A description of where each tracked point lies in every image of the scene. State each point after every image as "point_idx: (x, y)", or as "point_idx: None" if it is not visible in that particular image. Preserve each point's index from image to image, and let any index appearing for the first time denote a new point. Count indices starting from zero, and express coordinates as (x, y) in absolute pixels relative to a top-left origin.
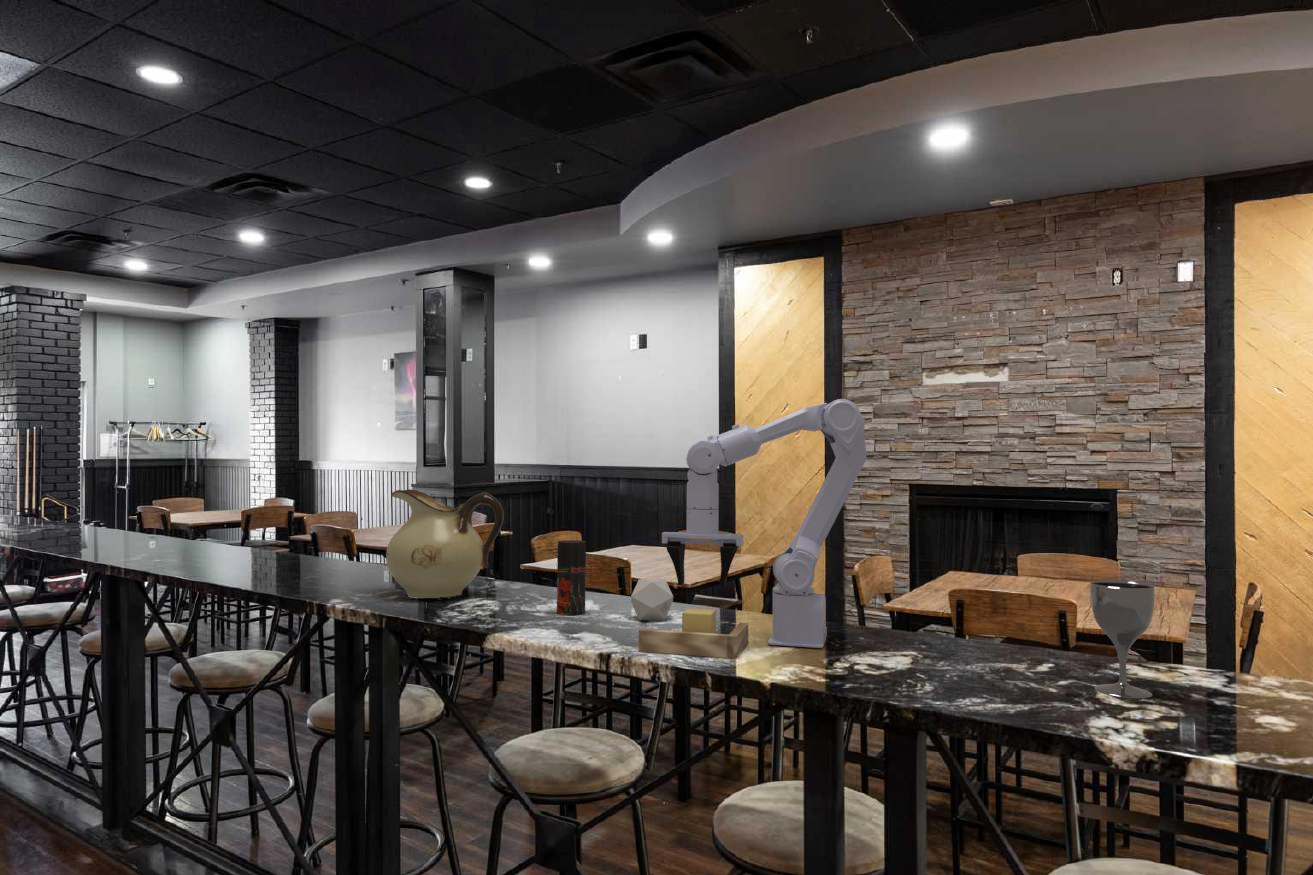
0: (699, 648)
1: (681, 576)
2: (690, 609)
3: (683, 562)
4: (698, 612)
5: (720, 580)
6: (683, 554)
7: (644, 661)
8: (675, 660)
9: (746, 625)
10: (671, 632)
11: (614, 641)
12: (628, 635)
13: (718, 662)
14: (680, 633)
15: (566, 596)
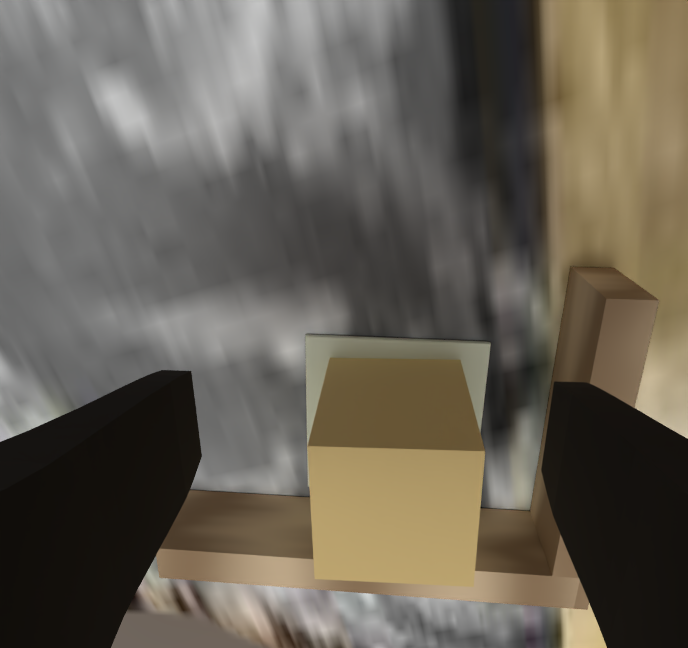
0: None
1: (173, 505)
2: (331, 479)
3: (79, 481)
4: (395, 549)
5: (556, 520)
6: (10, 569)
7: (258, 622)
8: (350, 596)
9: (644, 363)
10: (299, 585)
11: (28, 385)
12: (18, 253)
13: None
14: (339, 589)
15: None
